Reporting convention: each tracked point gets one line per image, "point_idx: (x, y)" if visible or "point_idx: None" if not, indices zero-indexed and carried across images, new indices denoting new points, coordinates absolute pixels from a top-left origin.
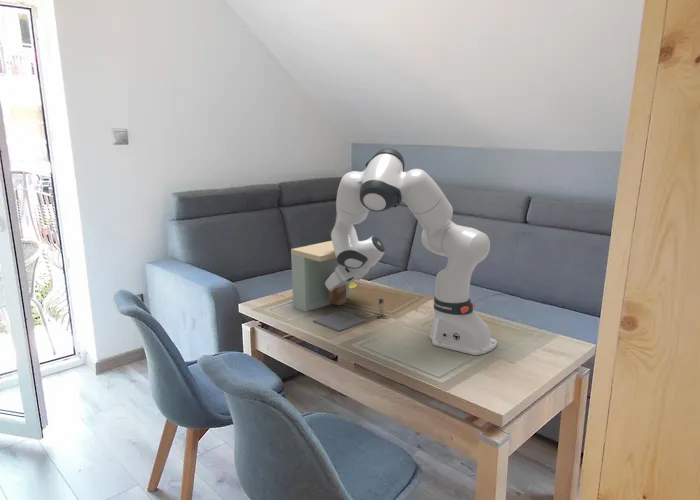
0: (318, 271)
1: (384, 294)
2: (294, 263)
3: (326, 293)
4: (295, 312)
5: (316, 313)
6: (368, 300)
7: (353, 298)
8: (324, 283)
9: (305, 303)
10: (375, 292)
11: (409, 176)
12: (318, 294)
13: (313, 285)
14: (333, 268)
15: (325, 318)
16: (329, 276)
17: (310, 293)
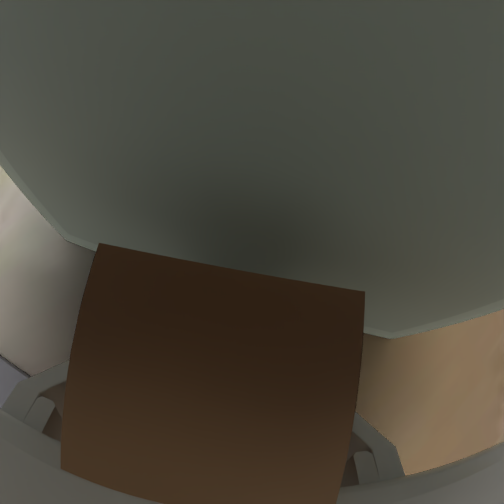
0: (34, 60)
1: (477, 439)
2: None
3: None
4: None
5: (62, 305)
6: (397, 452)
7: (391, 368)
8: (174, 216)
9: (46, 216)
10: (484, 392)
11: None
12: (117, 236)
13: (38, 171)
14: (429, 167)
15: (7, 391)
16: (111, 264)
17: (41, 201)
